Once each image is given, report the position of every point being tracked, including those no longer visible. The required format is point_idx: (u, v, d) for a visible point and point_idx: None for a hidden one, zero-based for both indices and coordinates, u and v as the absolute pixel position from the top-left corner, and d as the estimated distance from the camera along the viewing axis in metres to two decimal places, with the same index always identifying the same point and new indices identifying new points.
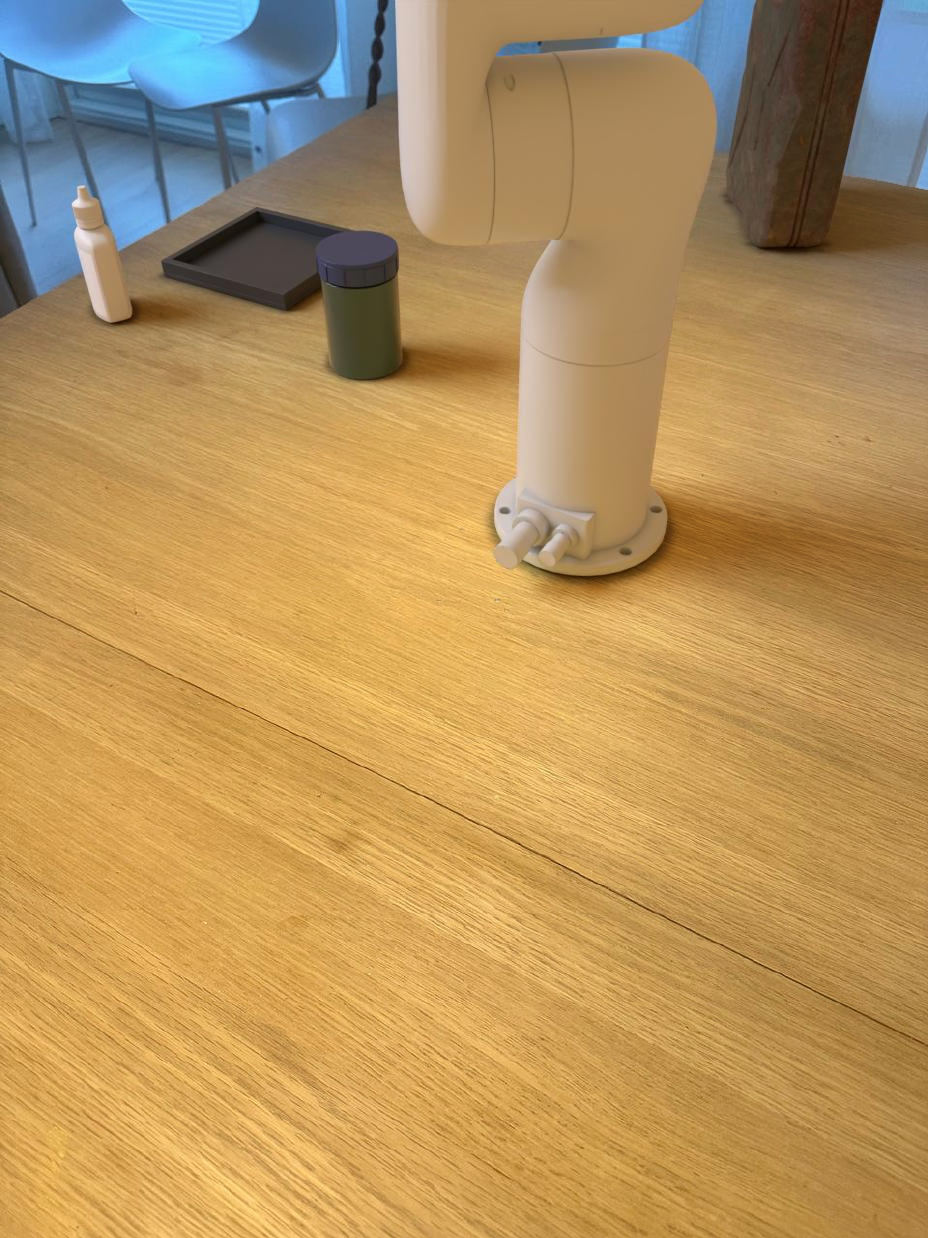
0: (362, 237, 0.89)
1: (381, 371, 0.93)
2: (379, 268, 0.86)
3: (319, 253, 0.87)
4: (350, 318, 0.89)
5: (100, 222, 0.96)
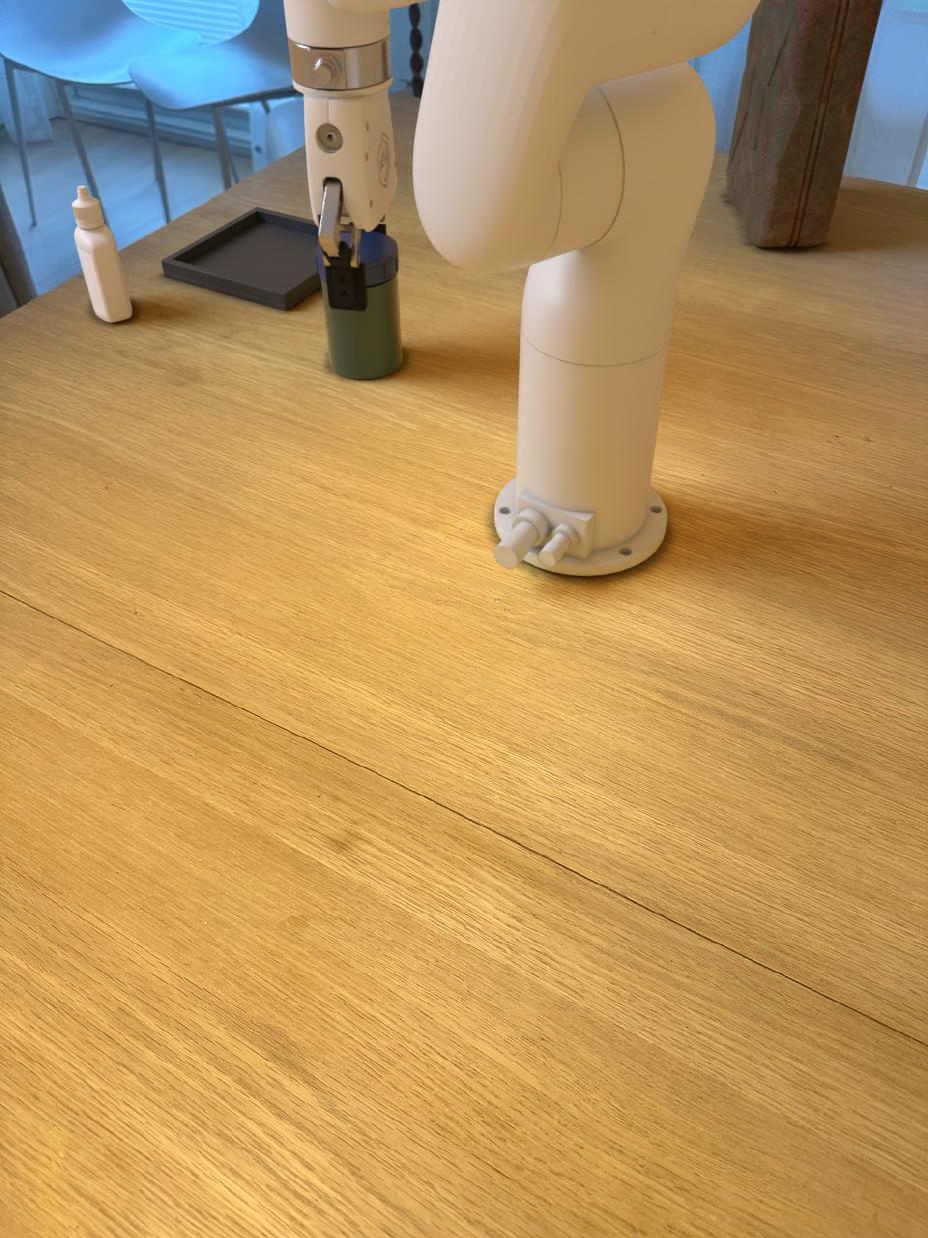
0: (362, 237, 0.89)
1: (381, 371, 0.93)
2: (379, 268, 0.86)
3: (319, 253, 0.87)
4: (350, 318, 0.89)
5: (100, 222, 0.96)
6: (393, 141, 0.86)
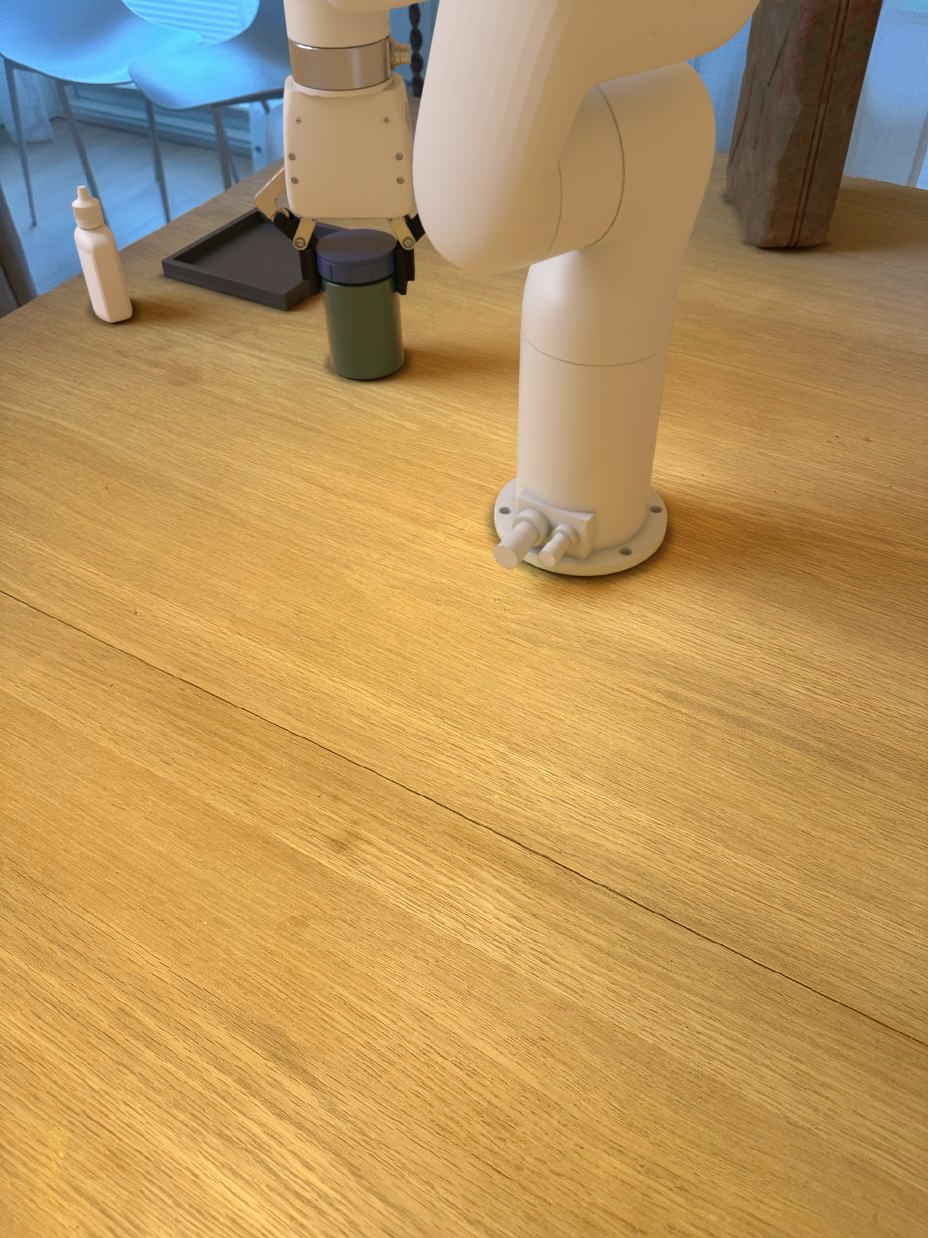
0: (332, 244, 0.88)
1: (383, 370, 0.92)
2: None
3: (372, 257, 0.86)
4: (351, 317, 0.89)
5: (100, 222, 0.96)
6: None
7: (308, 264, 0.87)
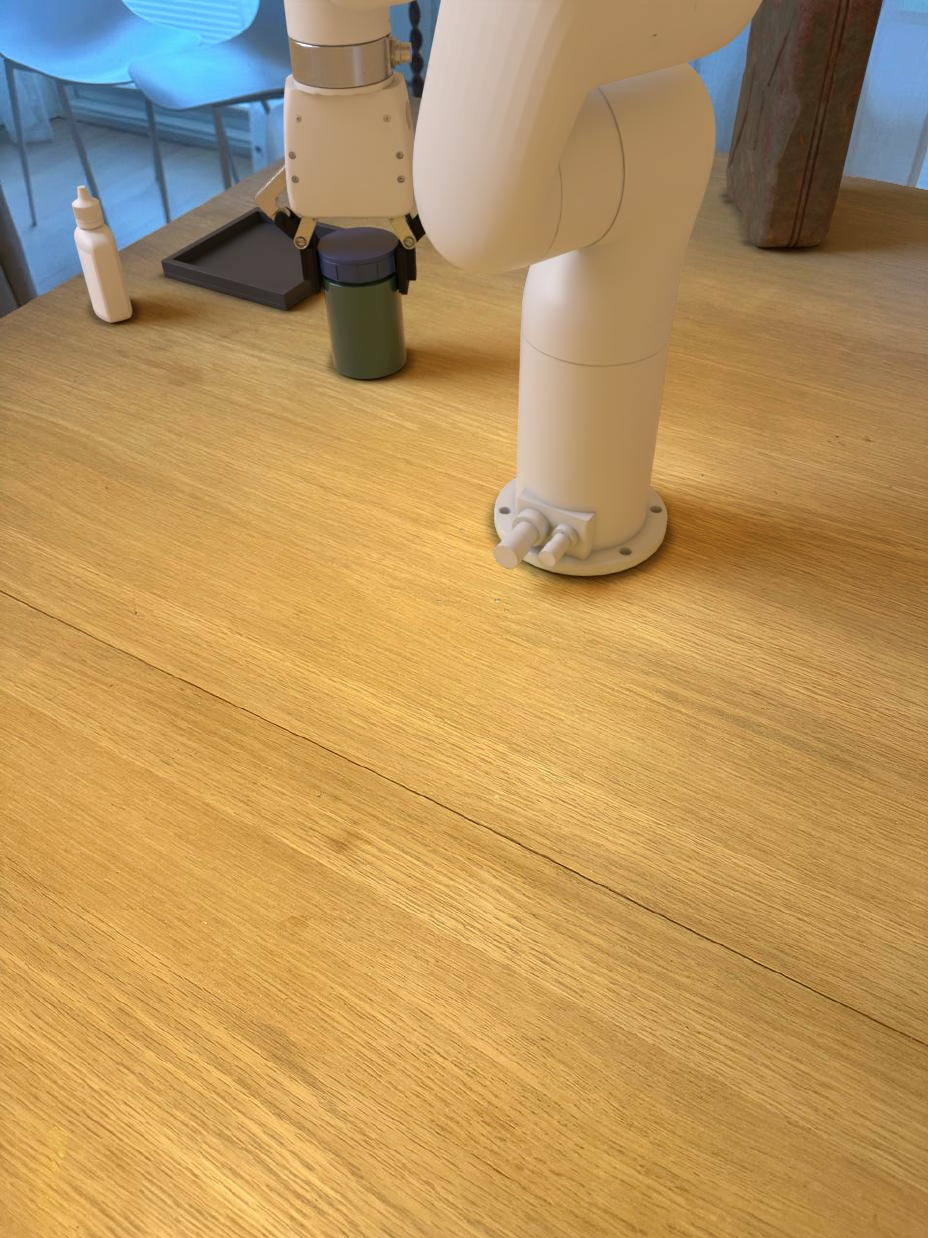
0: (358, 252, 0.86)
1: (386, 370, 0.92)
2: None
3: (389, 232, 0.89)
4: (354, 317, 0.89)
5: (100, 222, 0.96)
6: None
7: (309, 263, 0.87)
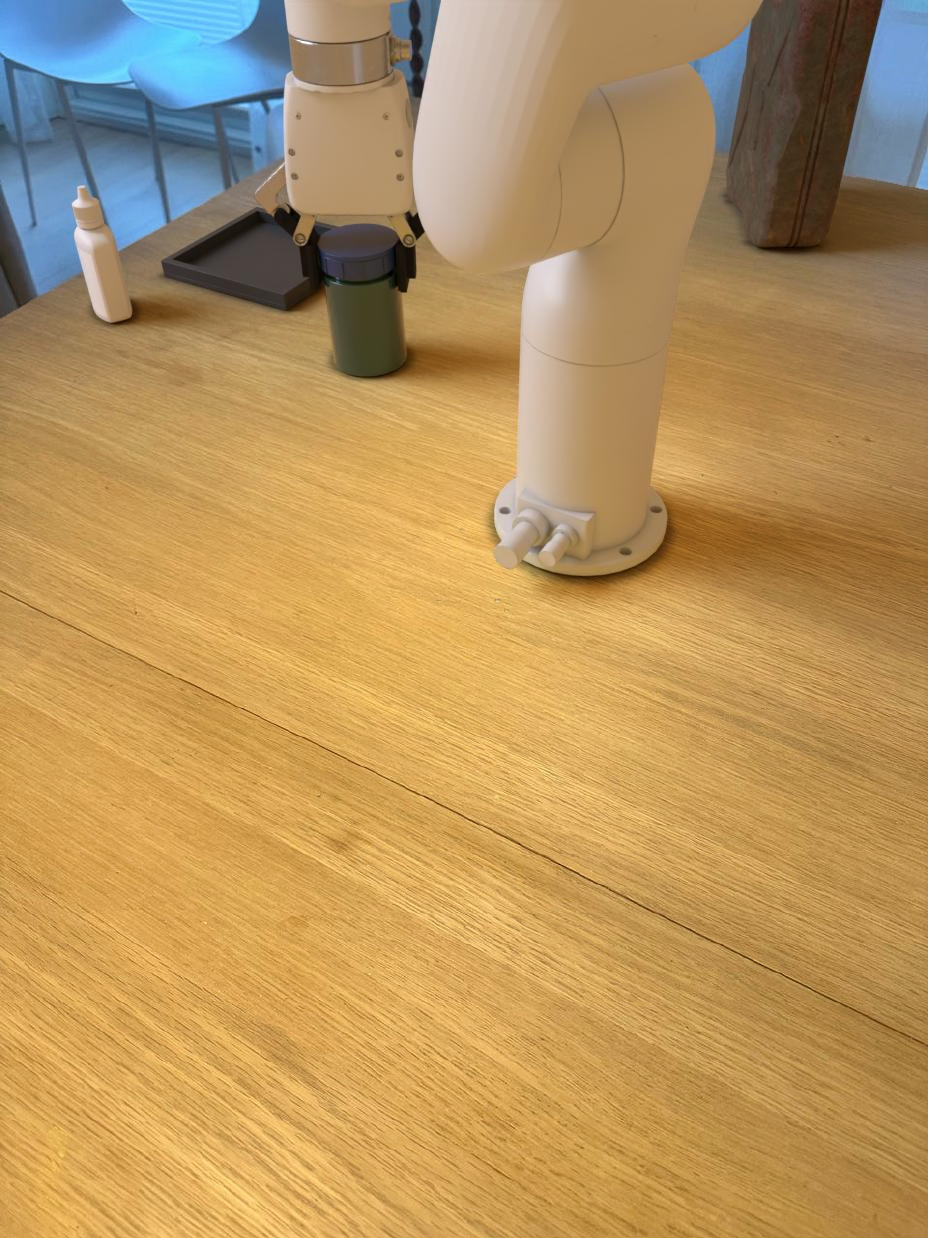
0: (380, 236, 0.88)
1: (395, 364, 0.93)
2: (336, 262, 0.86)
3: (332, 229, 0.90)
4: (365, 315, 0.89)
5: (100, 222, 0.96)
6: None
7: (308, 260, 0.87)
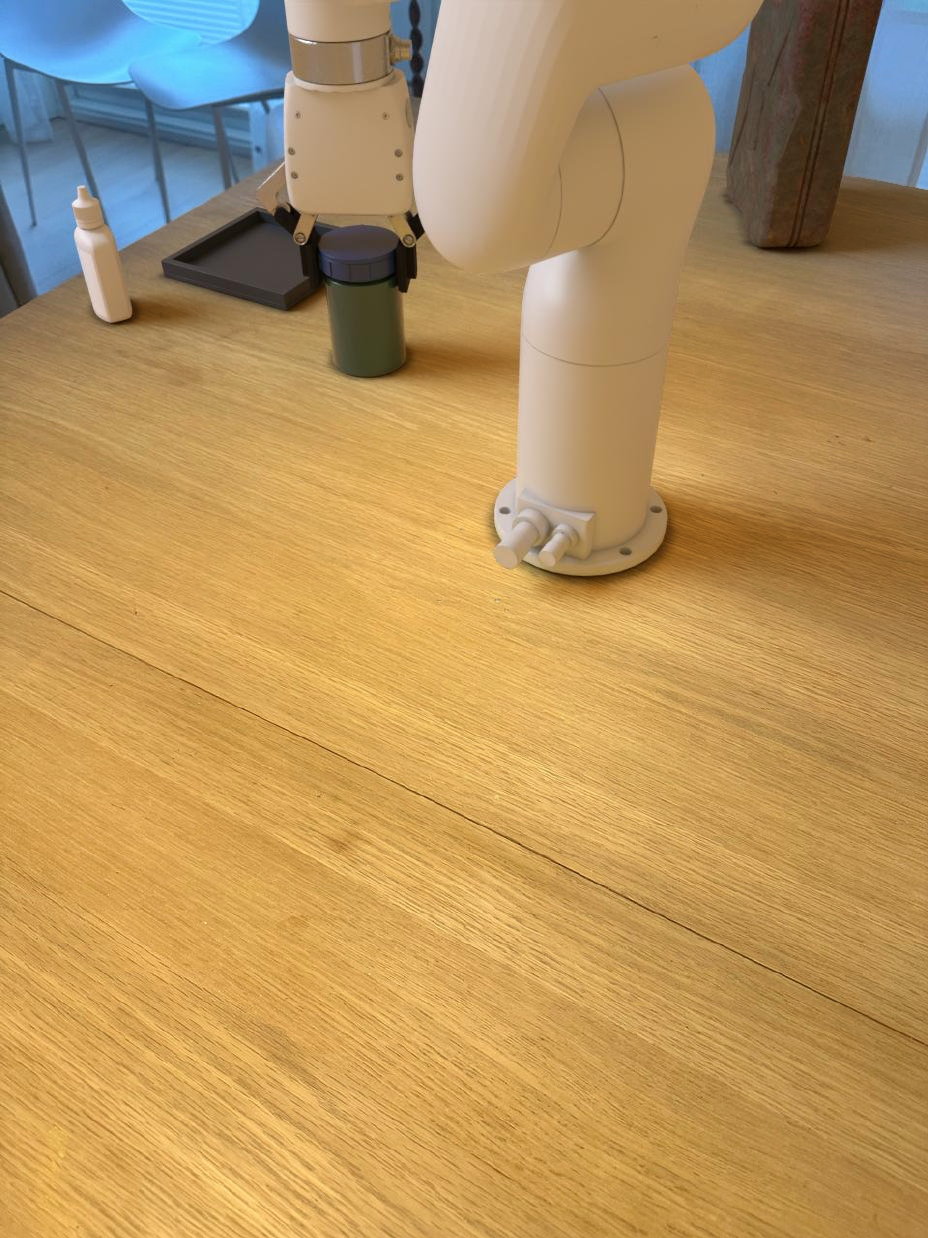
0: (350, 232, 0.89)
1: (395, 364, 0.93)
2: None
3: (333, 255, 0.86)
4: (367, 316, 0.89)
5: (100, 222, 0.96)
6: None
7: (308, 259, 0.87)
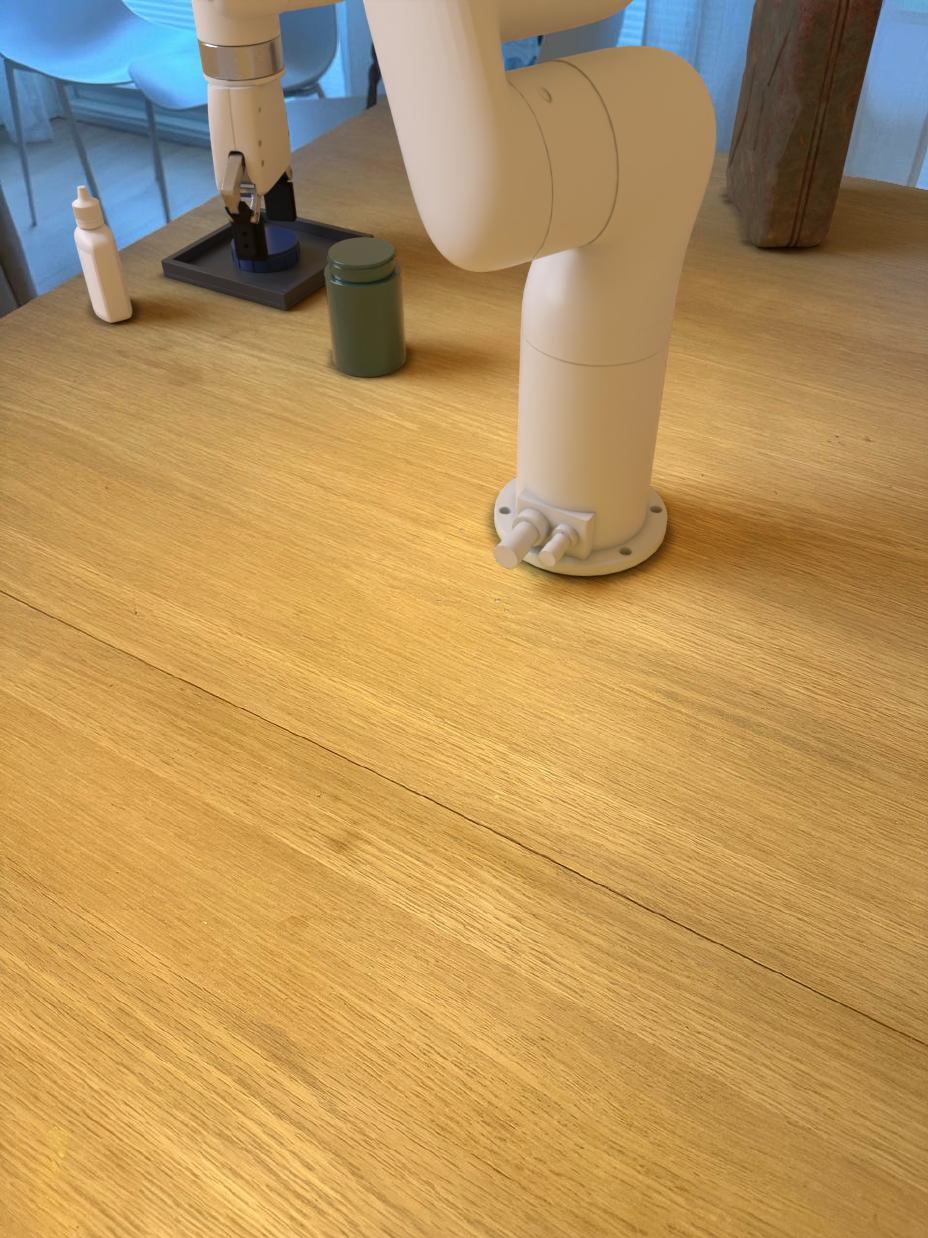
0: None
1: (395, 365, 0.93)
2: None
3: (285, 249, 1.07)
4: (367, 316, 0.89)
5: (100, 222, 0.96)
6: None
7: (264, 233, 1.03)
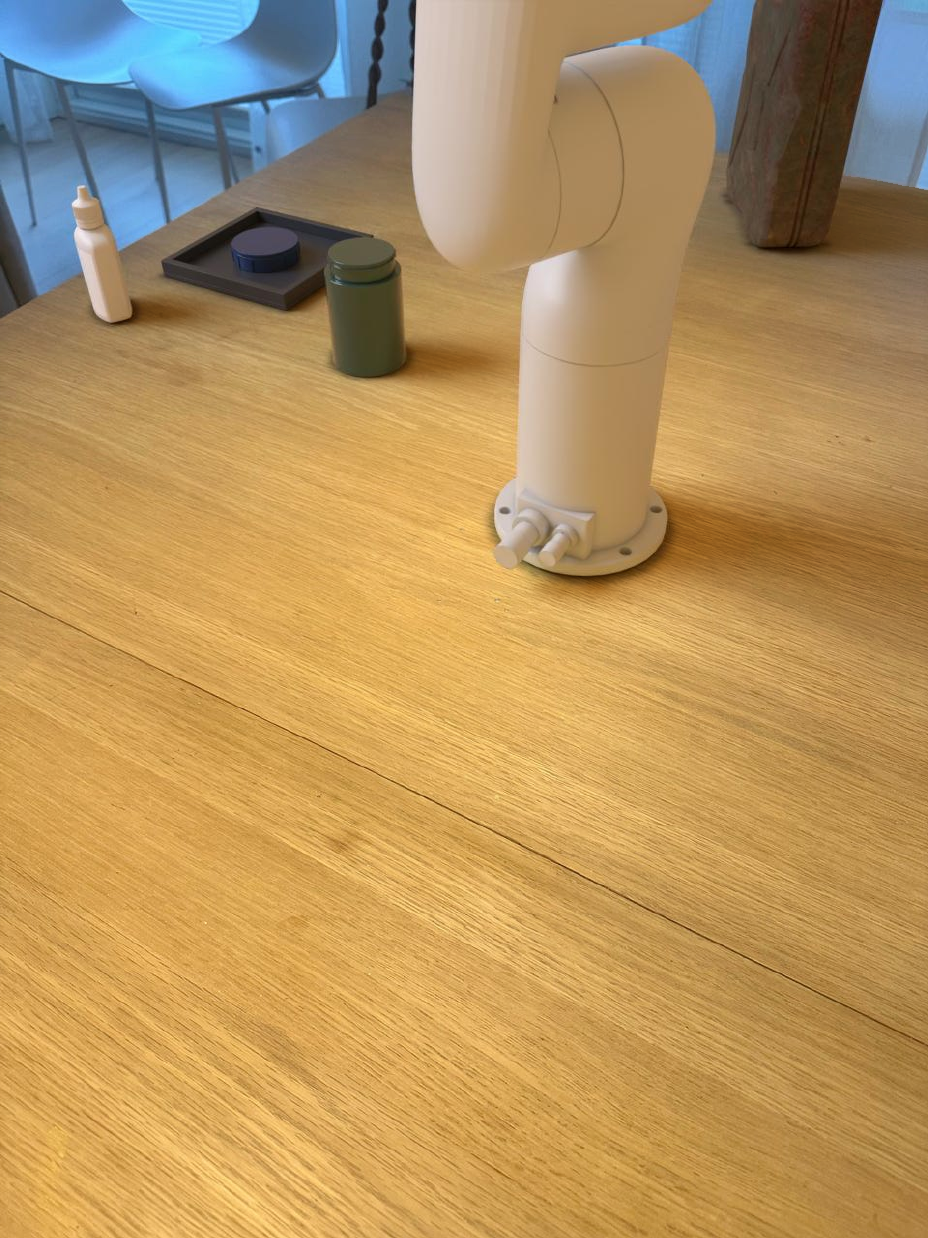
0: (245, 243, 1.08)
1: (395, 365, 0.93)
2: None
3: (285, 249, 1.07)
4: (367, 316, 0.89)
5: (100, 222, 0.96)
6: None
7: None
